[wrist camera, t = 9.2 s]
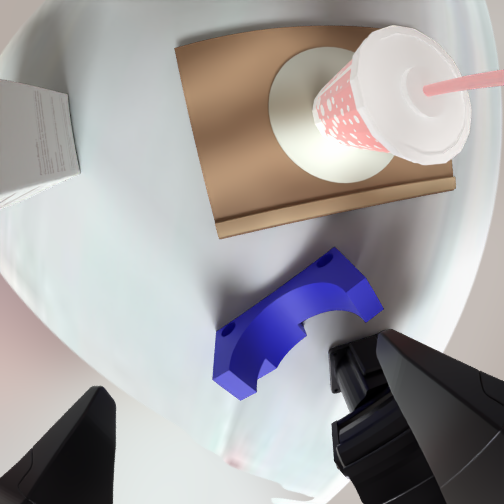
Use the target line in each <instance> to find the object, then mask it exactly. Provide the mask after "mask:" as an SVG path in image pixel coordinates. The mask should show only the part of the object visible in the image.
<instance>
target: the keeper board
mask: <svg viewBox="0 0 504 504" xmlns="http://www.w3.org/2000/svg"><path fill="white" fill-rule="evenodd" d="M379 29H381V28H371V27H357V26H298V27H284V28H273V29H264V30H257V31H250V32H243V33H237V34H232V35H226V36H221V37H217V38H212V39H208V40H203V41H199V42H195V43H191V44H188V45H184V46H181V47H177V48H174V49H175V54H176V58H177V63H178V68H179V73H180V77H181V82H182V87H183V91H184V96H185V100H186V105H187V109H188V114H189V118H190V122H191V127H192V131H193V135H194V139H195V144H196V148H197V152H198V156H199V160H200V164H201V168H202V173H203V177H204V181H205V185H206V189H207V193H208V197H209V200H210V204H211V208H212V212H213V216H214V220H215V226H216V230H217V233H218V237H219V239H224V238H228V237H232V236H237V235H241V234H245V233H250V232H254V231H259V230H263V229H267V228H272V227H276V226H281V225H285V224H290V223H294V222H299V221H303V220H308V219H313V218H317V217H322V216H327V215H331V214H336V213H341V212H346V211H350V210H355V209H360V208H365V207H370V206H375V205H380V204H385V203H390V202H395V201H400V200H405V199H410V198H415V197H420V196H425V195H431V194H436V193H441V192H447V191H452V190H454V189H456V179H455V177H453V169H452V159H451V160H449V161H448V162H447V163H443V164H434V165H421V164H419V163H413V162H411V161H408V160H406V159H403V158H400V157H398V156H395V155H393V154H392V153H386V152H380V151H373V150H366V149H358V148H350V147H344V146H340V145H337V144H333V143H332V142H330V141H329V140H328V139H326V138H325V137H324V136H322V134H321V133H320V131H319V129H318V128H317V126H316V125H315V122H314V117H313V113H312V110H313V104H314V99H315V98H316V96H317V95H318V93H319V92H320V91H321V89H322V88H323V87H324V86H325V85H326V84H327V83H328V82H329V81H330V80H331V79H332V78H333V77H334V76H335V75H336V74H337V73H338V72H339V71H340V70H341V69H342V68H344V67H345V66H346V65H347V64H348V63H349V62H350V61H351V60H352V58H353V55H354V53H355V52H356V51H357V49H358V48H359V47H360V45H361V44H362V42H363V41H364V40H365V39H366V38H368V36H369V35H370V34H371V33H372V32H374V31H376V30H379Z"/></svg>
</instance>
